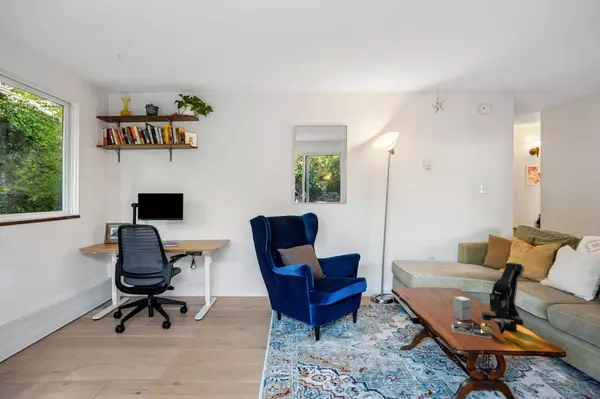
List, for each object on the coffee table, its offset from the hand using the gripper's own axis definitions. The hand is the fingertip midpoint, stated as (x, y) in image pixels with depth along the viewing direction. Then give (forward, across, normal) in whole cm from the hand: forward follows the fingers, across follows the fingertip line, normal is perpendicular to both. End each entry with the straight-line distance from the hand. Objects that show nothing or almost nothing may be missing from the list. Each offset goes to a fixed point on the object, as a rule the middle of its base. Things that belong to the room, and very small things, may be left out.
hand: (501, 333), depth 168 cm
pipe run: (+1, +15, 0) cm, 15 cm away
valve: (+1, +7, 0) cm, 7 cm away
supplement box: (+2, +17, -20) cm, 27 cm away
